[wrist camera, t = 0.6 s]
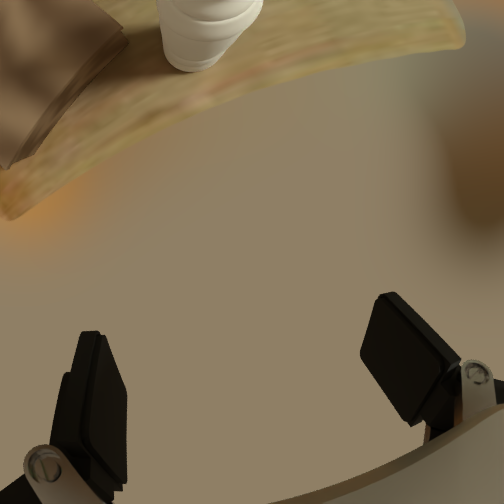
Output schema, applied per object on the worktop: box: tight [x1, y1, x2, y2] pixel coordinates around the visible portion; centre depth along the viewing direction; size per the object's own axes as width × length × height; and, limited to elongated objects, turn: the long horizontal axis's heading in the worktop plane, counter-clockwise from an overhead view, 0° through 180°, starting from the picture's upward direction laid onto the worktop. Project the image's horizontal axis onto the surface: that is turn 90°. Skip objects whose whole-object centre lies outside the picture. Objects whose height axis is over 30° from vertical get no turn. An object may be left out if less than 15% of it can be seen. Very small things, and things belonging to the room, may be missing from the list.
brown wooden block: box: [0, 0, 129, 170], centre depth 21 cm, size 19×19×8 cm
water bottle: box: [156, 0, 263, 72], centre depth 19 cm, size 7×7×25 cm
